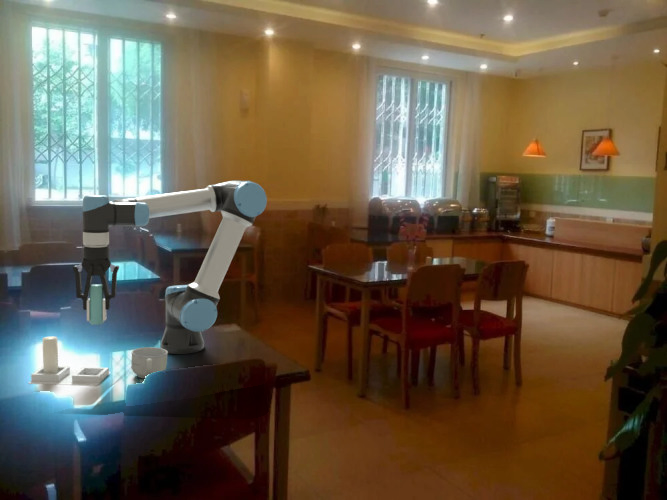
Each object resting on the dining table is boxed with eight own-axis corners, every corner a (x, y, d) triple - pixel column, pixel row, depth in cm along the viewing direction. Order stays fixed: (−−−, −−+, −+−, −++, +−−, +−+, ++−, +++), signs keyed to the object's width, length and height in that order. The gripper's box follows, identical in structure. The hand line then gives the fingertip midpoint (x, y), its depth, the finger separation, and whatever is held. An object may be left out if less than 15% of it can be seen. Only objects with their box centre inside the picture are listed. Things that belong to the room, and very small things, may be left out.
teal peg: (104, 321, 194) (104, 284, 193) (102, 324, 190) (102, 286, 189) (91, 321, 193) (90, 284, 192) (88, 324, 189) (88, 286, 188)
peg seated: (60, 374, 187) (59, 336, 185) (54, 379, 183) (53, 340, 181) (47, 374, 187) (46, 336, 185) (41, 378, 183) (40, 339, 181)
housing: (111, 374, 191) (111, 365, 191) (96, 388, 179) (96, 378, 179) (47, 372, 191) (46, 363, 191) (28, 386, 179) (27, 376, 179)
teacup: (136, 369, 197) (136, 345, 196) (170, 370, 198) (170, 346, 197) (125, 385, 183) (125, 359, 182) (162, 385, 184) (162, 359, 183)
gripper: (126, 244, 194) (126, 316, 197) (68, 243, 190) (69, 317, 193) (123, 247, 187) (124, 322, 190) (64, 246, 183) (65, 323, 186)
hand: (96, 319), depth 192 cm, fingers closed on teal peg, 4 cm apart
